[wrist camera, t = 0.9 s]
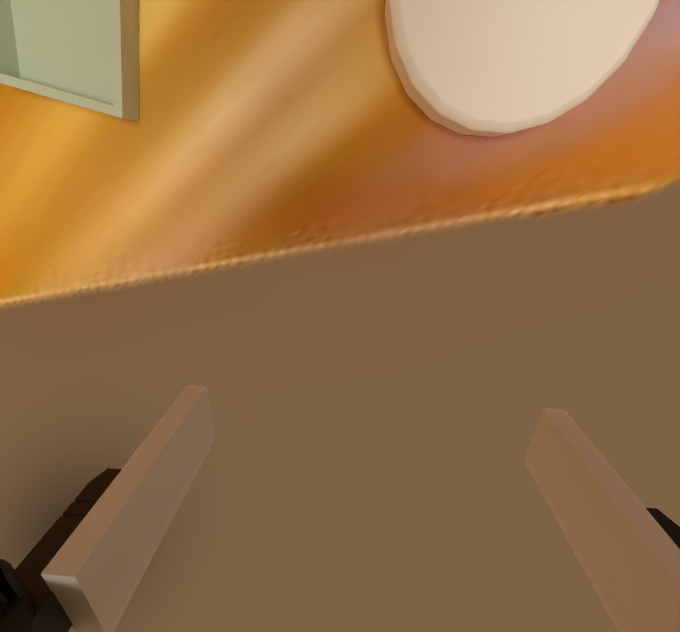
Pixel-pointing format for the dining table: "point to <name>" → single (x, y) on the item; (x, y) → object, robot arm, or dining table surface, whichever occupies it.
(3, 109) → the dining table surface
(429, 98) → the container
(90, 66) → the parts tray
